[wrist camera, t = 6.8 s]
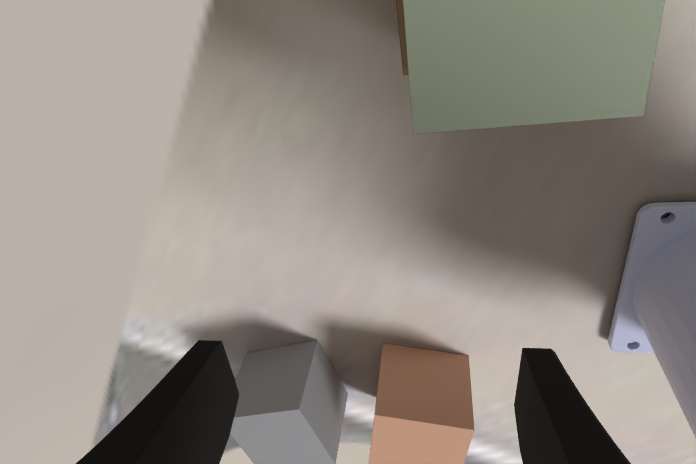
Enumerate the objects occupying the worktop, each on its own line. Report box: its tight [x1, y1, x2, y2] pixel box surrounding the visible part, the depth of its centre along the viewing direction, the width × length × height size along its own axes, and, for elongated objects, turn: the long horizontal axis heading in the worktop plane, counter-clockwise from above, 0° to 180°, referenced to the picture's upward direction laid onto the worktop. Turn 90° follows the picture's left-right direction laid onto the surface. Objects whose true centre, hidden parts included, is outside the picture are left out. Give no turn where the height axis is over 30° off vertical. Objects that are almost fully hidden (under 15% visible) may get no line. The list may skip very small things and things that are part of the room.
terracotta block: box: [369, 344, 474, 464], centre depth 25 cm, size 4×4×4 cm
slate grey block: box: [230, 340, 348, 464], centre depth 27 cm, size 4×4×4 cm
